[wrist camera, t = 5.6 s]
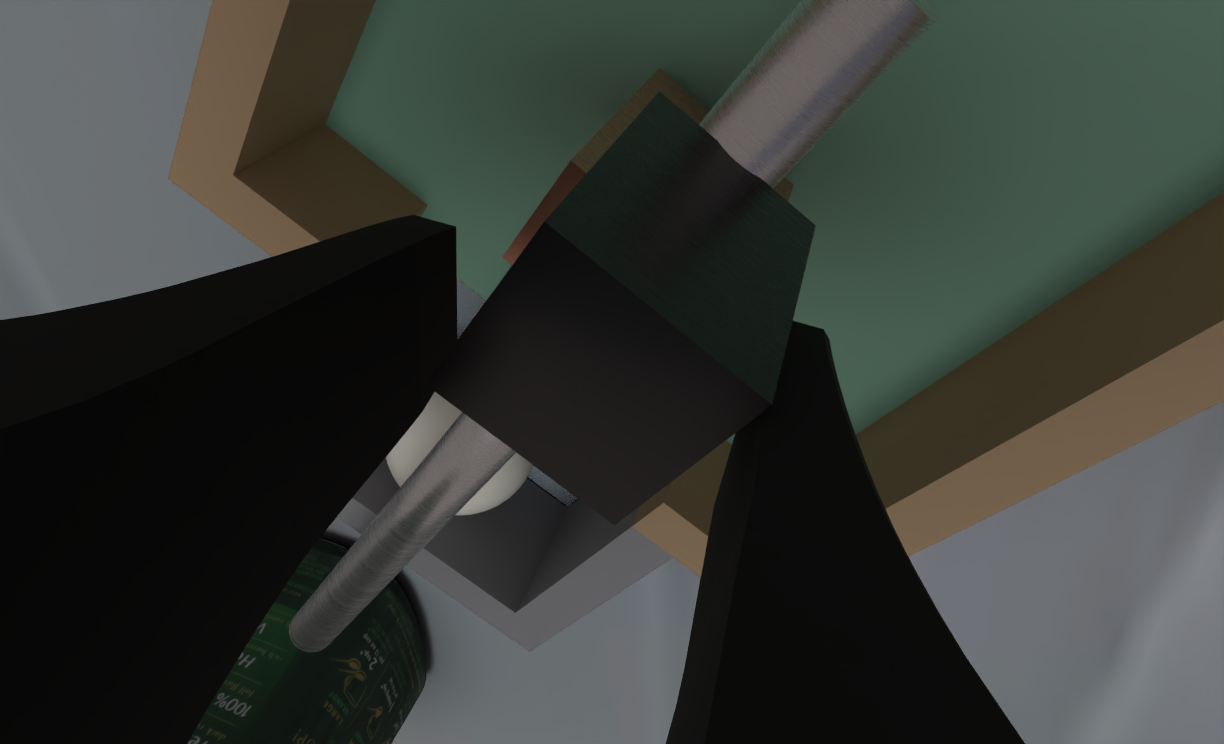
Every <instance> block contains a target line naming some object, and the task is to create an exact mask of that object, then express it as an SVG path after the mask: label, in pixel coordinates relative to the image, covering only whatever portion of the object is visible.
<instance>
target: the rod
mask: <svg viewBox="0 0 1224 744" xmlns="http://www.w3.org/2000/svg"><path fill="white" fill-rule="evenodd" d="M937 20H938V17H937V15H936V13H935V11H934V9H933V8H932V6H931V5H930V4H929V2H928V1H927V0H801V1H800V2H799V3H798V4H797V6H796V7H795V8H794V9H793V10H792V12H791V13H790V14H789V15H788V16H787V18H786V19H785V20H784V21H783V23H782V24H781V25H780V26H779V27H778V29H777V30H776V31H775V32H774V33H773V35H772V36H771V37H770V38H769V40H768V41H767V42H766V43H765V44H764V46H763V47H762V48H761V49H760V51H759V52H758V53H757V54H756V55H755V57H754V58H753V59H752V60H751V61H750V63H749V64H748V65H747V66H746V68H745V69H744V70H743V71H742V72H741V74H740V75H739V76H738V77H737V78H736V80H735V81H734V82H733V83H732V85H731V86H730V87H729V88H728V89H727V91H726V92H725V93H724V94H723V96H722V97H721V98H720V99H719V100H718V102H717V103H716V104H715V105H714V106H713V108H712V109H711V110H710V111H708V110H707V109H706V108H705V107H704V106H703V105H701V104H700V103H699V102H698V101H697V100H696V99H695V98H693V97H692V96H691V95H690V94H689V93H688V92H686V91H685V90H684V89H683V88H682V87H681V86H680V85H678V84H677V83H676V82H675V81H674V80H673V79H671V78H670V77H669V76H668V75H667V74H666V73H665V72H663V71H662V70H661V69H660V68H659V69H658V70H657V71H656V72H655V73H654V74H653V75H652V76H651V77H650V78H649V79H648V80H647V81H646V82H645V83H644V84H643V85H642V86H641V88H640V89H639V90H638V91H637V92H636V93H635V94H634V95H633V96H632V97H631V98H630V99H629V100H628V101H627V102H626V103H625V104H624V105H623V106H622V107H621V108H620V109H619V110H618V111H617V112H616V114H615V115H614V116H613V117H612V118H611V119H610V120H609V121H608V122H607V123H606V124H605V125H604V126H603V127H602V128H601V129H600V130H599V131H598V132H597V133H596V134H595V135H594V136H593V137H592V139H591V140H590V141H589V142H588V143H587V144H586V145H585V146H584V147H583V148H582V149H581V150H580V151H579V152H578V153H577V154H576V155H575V156H574V157H573V158H572V159H571V160H570V162H569V163H568V165H567V166H566V168H565V169H564V170H563V172H562V173H561V175H560V176H559V177H558V179H557V180H556V182H555V183H554V184H553V186H552V187H551V189H550V190H549V192H548V193H547V194H546V196H545V197H544V199H543V200H542V201H541V203H540V204H539V206H538V207H537V208H536V210H535V211H534V213H533V214H532V215H531V217H530V218H529V220H528V221H527V223H526V224H525V225H524V227H523V228H522V230H521V231H520V232H519V234H518V235H517V237H516V238H515V239H514V241H513V242H512V244H511V245H510V247H509V248H508V249H507V251H506V252H505V254H504V255H503V256H502V258H503V259H505V260H506V261H507V262H508V263H510V264H511V265H512V266H511V268H510V269H509V270H508V272H507V273H506V275H505V276H504V277H503V279H502V280H501V281H500V283H499V284H498V285H497V287H496V288H495V290H494V291H493V292H492V294H491V295H490V296H489V298H488V299H487V301H486V302H485V303H484V305H483V306H482V307H481V309H480V310H479V312H478V313H477V314H476V316H475V317H474V318H473V320H472V321H471V322H470V324H469V325H468V327H467V328H466V329H465V331H464V332H463V333H462V335H461V336H460V338H459V339H458V340H457V342H456V343H455V344H454V346H453V347H452V349H451V350H450V351H449V353H448V354H447V355H446V357H445V358H444V359H443V361H442V362H441V364H440V365H439V366H438V368H437V369H436V370H435V372H434V373H433V375H432V376H431V377H430V379H429V380H428V381H427V383H426V384H425V385H427V386H428V387H429V388H431V389H432V390H433V391H435V392H436V393H437V394H439V395H440V396H441V397H443V398H444V399H445V400H447V401H448V402H449V403H451V404H452V405H453V406H455V407H456V408H457V409H459V410H460V411H461V412H462V413H461V414H460V415H459V417H458V418H457V419H456V420H455V421H454V423H453V424H452V425H451V426H450V428H449V429H448V430H447V431H446V432H445V434H444V435H443V436H442V437H441V438H440V440H439V441H438V442H437V443H436V445H435V446H434V447H433V448H432V449H431V451H430V452H429V453H428V454H427V455H426V457H425V458H424V459H423V460H422V462H421V463H420V464H419V465H418V466H417V468H416V469H415V470H414V471H413V473H412V474H411V475H410V476H409V477H408V479H407V480H406V481H405V482H404V483H403V485H402V486H401V487H400V488H399V490H398V491H397V492H396V493H395V494H394V496H393V497H392V498H391V499H390V500H389V502H388V503H387V504H386V505H385V507H384V508H383V509H382V510H381V511H380V513H379V514H378V515H377V516H376V518H375V519H374V520H373V521H372V522H371V524H370V525H369V526H368V527H367V528H366V530H365V531H364V532H363V533H362V535H361V536H360V537H359V538H358V539H357V541H356V542H355V543H354V544H353V545H352V547H351V548H350V549H349V550H348V552H347V553H346V554H345V555H344V556H343V558H342V559H341V560H340V561H339V563H338V564H337V565H336V566H335V567H334V569H333V570H332V571H331V572H330V573H329V575H328V576H327V577H326V578H325V580H324V581H323V582H322V583H321V584H320V586H319V587H318V588H317V589H316V590H315V592H314V593H313V594H312V595H311V597H310V598H309V599H308V600H307V601H306V603H305V604H304V605H303V606H302V607H301V609H300V610H299V611H298V612H297V614H296V615H295V616H294V617H293V619H292V620H291V622H290V625H289V636H290V639H291V641H292V643H293V644H294V645H295V646H296V647H297V648H298V649H300V650H302V651H304V652H309V653H313V652H318V651H321V650H323V649H325V648H326V647H327V646H328V645H329V644H330V643H331V642H332V641H333V640H334V639H335V638H336V637H337V636H338V635H339V634H340V633H341V632H342V631H343V630H344V629H345V628H346V627H347V626H348V625H349V624H350V623H351V622H352V621H353V619H354V618H355V617H356V616H357V615H358V614H359V613H360V612H361V611H362V610H363V609H364V608H365V607H366V606H367V605H368V604H369V603H370V602H371V601H372V600H373V599H374V598H375V597H376V596H377V595H378V594H379V593H380V592H381V591H382V590H383V589H384V588H385V587H386V586H387V585H388V584H389V583H390V581H391V580H392V579H393V578H394V577H395V576H396V575H397V574H398V573H399V572H400V571H401V570H402V569H403V568H404V567H405V566H406V565H407V564H408V563H409V562H410V561H411V560H412V559H413V558H414V557H415V556H416V555H417V554H418V553H419V552H420V551H421V550H422V549H423V548H424V547H425V546H426V545H427V543H428V542H429V541H430V540H431V539H432V538H433V537H434V536H435V535H436V534H437V533H438V532H439V531H440V530H441V529H442V528H443V527H444V526H445V525H446V524H447V523H448V522H449V521H450V520H451V519H452V518H453V517H454V516H455V515H456V514H457V513H458V512H459V511H460V510H461V509H462V508H463V507H464V505H465V504H466V503H467V502H468V501H469V500H470V499H471V498H472V497H473V496H474V495H475V494H476V493H477V492H478V491H479V490H480V489H481V488H482V487H483V486H484V485H485V484H486V483H487V482H488V481H489V480H490V479H491V478H492V477H493V476H494V475H495V474H496V473H497V472H498V471H499V470H500V469H501V467H502V466H503V465H504V464H505V463H506V462H507V461H508V460H509V459H510V458H511V457H512V456H513V455H514V454H515V453H518V454H519V455H520V456H522V457H523V458H524V459H526V460H527V461H528V462H530V463H531V464H533V465H534V466H535V467H537V468H538V469H539V470H541V471H542V472H543V473H545V474H546V475H547V476H549V477H550V478H551V479H553V480H554V481H555V482H557V483H558V484H559V485H561V486H562V487H563V488H565V489H566V490H567V491H569V492H570V493H571V494H573V495H574V496H575V497H577V498H578V499H579V500H581V501H582V502H583V503H585V504H586V505H587V506H589V507H590V508H592V509H593V510H594V511H596V512H597V513H598V514H600V515H601V516H602V517H604V518H605V519H606V520H608V521H609V522H610V523H612V524H613V525H616V524H617V523H618V522H620V521H621V520H622V519H624V518H625V517H626V516H627V515H629V514H630V513H631V512H633V511H634V510H635V509H637V508H638V507H639V506H641V505H642V504H643V503H644V502H646V501H647V500H648V499H650V498H651V497H652V496H654V495H655V494H656V493H658V492H659V491H660V490H662V489H663V488H664V487H665V486H667V485H668V484H669V483H671V482H672V481H673V480H675V479H676V478H677V477H679V476H680V475H681V474H682V473H684V472H685V471H686V470H688V469H689V468H690V467H692V466H693V465H694V464H696V463H697V462H698V461H700V460H701V459H702V458H703V457H705V456H706V455H707V454H709V453H710V452H711V451H713V450H714V449H715V448H717V447H718V446H719V445H720V444H722V443H723V442H724V441H726V440H727V439H728V438H730V437H731V436H732V435H734V434H735V433H736V432H738V431H739V430H740V429H741V428H743V427H744V426H745V425H747V424H748V423H749V422H751V421H752V420H753V419H755V418H756V417H757V416H759V415H760V414H761V413H762V412H764V411H765V410H766V409H768V408H769V407H770V406H772V404H773V400H774V395H775V391H776V387H777V383H778V379H779V375H780V371H781V367H782V363H783V358H784V354H785V350H786V346H787V342H788V338H789V334H790V330H791V326H792V321H793V317H794V313H795V309H796V305H797V301H798V297H799V293H800V289H801V284H802V280H803V276H804V272H805V268H806V264H807V260H808V256H809V252H810V247H811V243H812V239H813V235H814V231H815V227H816V225H815V224H813V223H812V222H811V221H810V220H809V219H808V218H806V217H805V216H804V215H803V214H802V213H801V212H800V211H798V210H797V209H796V208H795V207H794V206H793V205H791V204H790V203H789V202H788V201H789V198H790V195H791V192H792V189H793V186H794V184H792V183H791V182H790V181H789V180H788V179H787V178H786V177H785V176H786V175H787V174H788V173H789V172H790V171H791V170H792V169H793V168H794V167H795V166H796V165H797V164H798V162H799V161H800V160H801V159H802V158H803V157H804V156H805V155H806V154H807V153H808V152H809V151H810V150H811V149H812V148H813V147H814V146H815V145H816V144H817V143H818V142H819V141H820V140H821V139H822V138H823V137H824V136H825V135H826V134H827V133H828V132H829V131H830V130H831V129H832V128H833V127H834V126H835V124H836V123H837V122H838V121H839V120H840V119H841V118H842V117H843V116H844V115H845V114H846V113H847V112H848V111H849V110H850V109H851V108H852V107H853V106H854V105H855V104H856V103H857V102H858V101H859V100H860V99H861V98H862V97H863V96H864V95H865V94H866V93H867V92H868V91H869V90H870V89H871V88H872V86H873V85H874V84H875V83H876V82H877V81H878V80H879V79H880V78H881V77H882V76H883V75H884V74H885V73H886V72H887V71H888V70H889V69H890V68H891V67H892V66H893V65H894V64H895V63H896V62H897V61H898V60H899V59H900V58H901V57H902V56H903V55H904V54H905V53H906V52H907V51H908V50H909V48H910V47H911V46H912V45H913V44H914V43H915V42H916V41H917V40H918V39H919V38H920V37H921V36H922V35H923V34H924V33H925V32H926V31H927V30H928V29H929V28H930V27H931V26H932V25H933V24H934V23H935V22H936V21H937Z"/></svg>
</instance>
